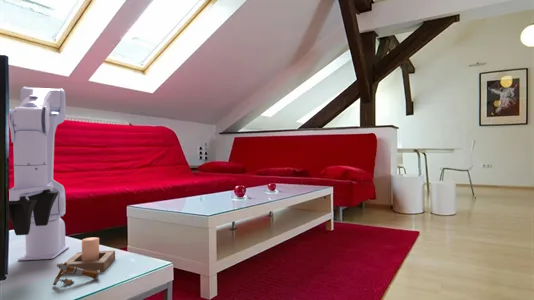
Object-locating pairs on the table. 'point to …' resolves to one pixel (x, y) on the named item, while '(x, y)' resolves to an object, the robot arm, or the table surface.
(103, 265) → the walnut socket collar
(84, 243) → the terracotta peg
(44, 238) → the robot arm
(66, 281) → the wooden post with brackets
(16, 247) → the table surface
